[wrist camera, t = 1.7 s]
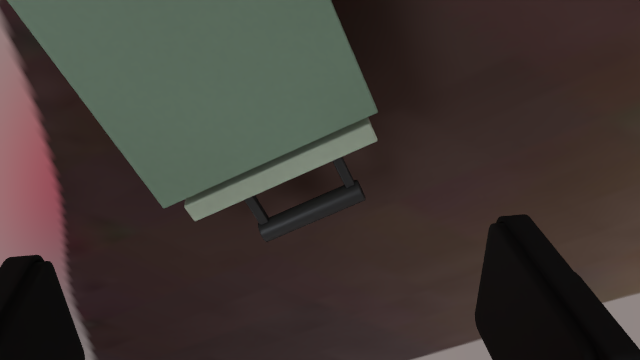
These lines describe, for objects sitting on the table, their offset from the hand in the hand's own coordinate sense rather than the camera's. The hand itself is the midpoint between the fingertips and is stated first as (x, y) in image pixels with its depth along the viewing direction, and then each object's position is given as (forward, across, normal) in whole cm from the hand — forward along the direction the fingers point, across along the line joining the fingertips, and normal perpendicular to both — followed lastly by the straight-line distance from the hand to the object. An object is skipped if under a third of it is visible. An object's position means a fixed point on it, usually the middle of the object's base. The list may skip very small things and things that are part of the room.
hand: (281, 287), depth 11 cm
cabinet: (+25, +3, -2) cm, 25 cm away
